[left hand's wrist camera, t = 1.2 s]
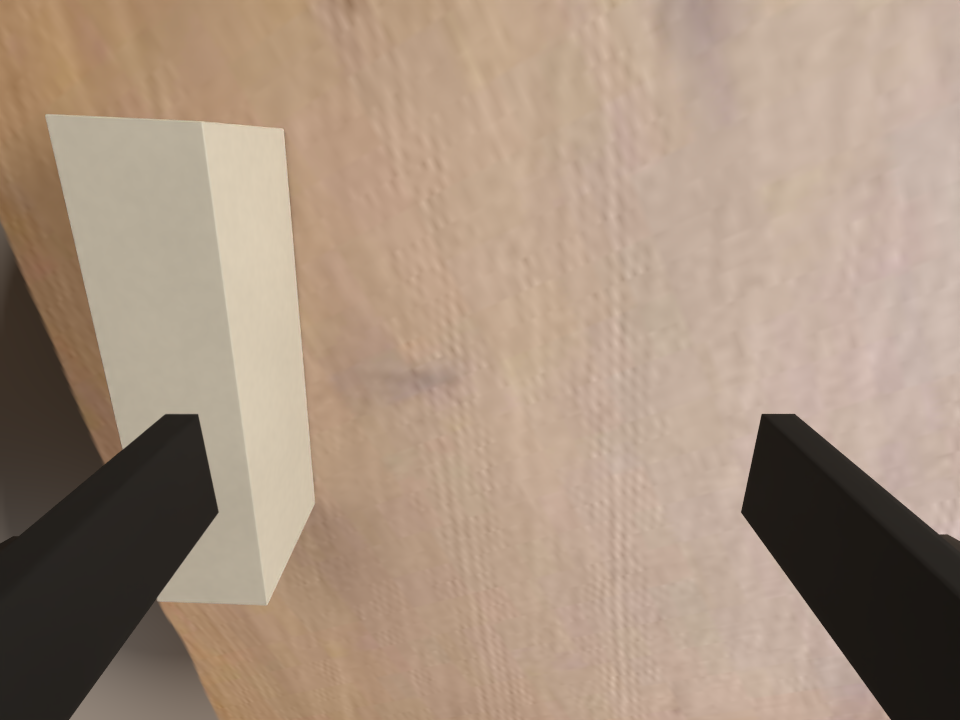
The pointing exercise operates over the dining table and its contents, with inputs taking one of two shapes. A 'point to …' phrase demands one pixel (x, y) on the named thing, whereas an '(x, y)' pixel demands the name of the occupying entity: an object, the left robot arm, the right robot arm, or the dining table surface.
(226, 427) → the bar
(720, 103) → the dining table surface
